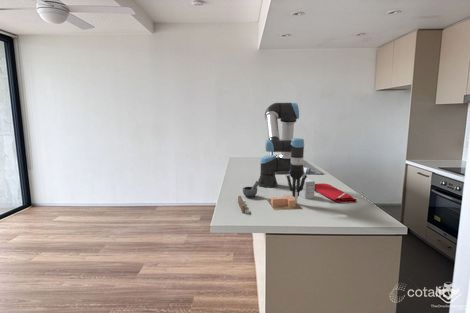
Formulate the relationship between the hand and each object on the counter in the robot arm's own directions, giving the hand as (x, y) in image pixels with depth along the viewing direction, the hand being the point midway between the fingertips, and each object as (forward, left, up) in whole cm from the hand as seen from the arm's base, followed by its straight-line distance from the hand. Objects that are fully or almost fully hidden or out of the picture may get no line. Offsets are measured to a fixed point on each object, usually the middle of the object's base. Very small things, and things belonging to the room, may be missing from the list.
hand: (295, 201), depth 180 cm
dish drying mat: (-24, +34, -3) cm, 41 cm away
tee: (0, -8, -1) cm, 8 cm away
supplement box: (-14, +12, -3) cm, 19 cm away
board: (0, -16, -3) cm, 16 cm away
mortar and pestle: (-18, -25, -3) cm, 31 cm away
